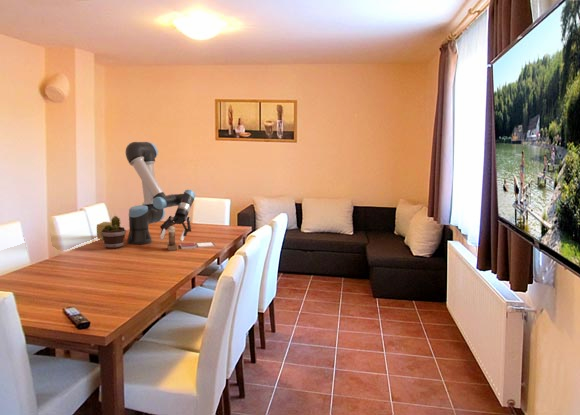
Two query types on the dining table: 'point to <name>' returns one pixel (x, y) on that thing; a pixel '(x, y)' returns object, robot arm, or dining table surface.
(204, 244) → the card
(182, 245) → the ink pad
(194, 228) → the dining table surface
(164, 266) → the dining table surface
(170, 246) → the stamp
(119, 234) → the flowerpot
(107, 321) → the dining table surface
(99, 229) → the cheese
